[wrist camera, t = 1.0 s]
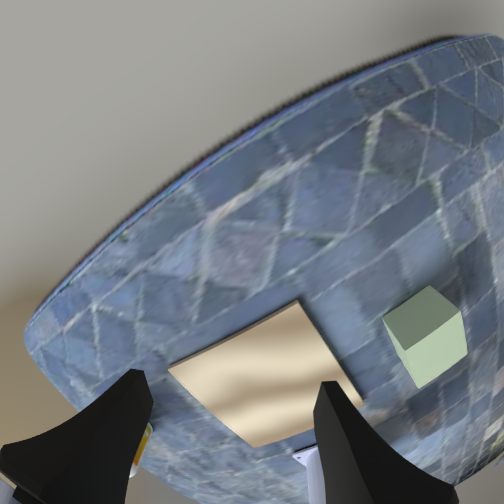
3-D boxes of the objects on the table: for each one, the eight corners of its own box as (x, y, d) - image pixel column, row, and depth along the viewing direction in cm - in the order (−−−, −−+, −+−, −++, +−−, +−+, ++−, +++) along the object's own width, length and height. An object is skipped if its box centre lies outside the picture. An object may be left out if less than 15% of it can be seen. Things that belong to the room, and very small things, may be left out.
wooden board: (363, 400, 23) (364, 404, 22) (254, 443, 25) (254, 447, 25) (297, 299, 20) (298, 302, 20) (169, 365, 23) (167, 369, 22)
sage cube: (440, 325, 20) (467, 353, 15) (397, 354, 21) (418, 388, 16) (428, 284, 19) (460, 310, 15) (381, 316, 20) (404, 351, 16)
